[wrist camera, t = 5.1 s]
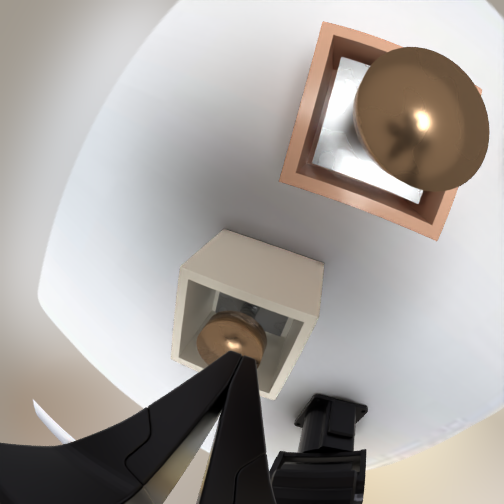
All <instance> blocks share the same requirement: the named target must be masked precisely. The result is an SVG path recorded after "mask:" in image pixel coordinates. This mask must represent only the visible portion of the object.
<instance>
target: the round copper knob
mask: <svg viewBox="0 0 504 504" xmlns="http://www.w3.org/2000/svg"><path fill="white" fill-rule="evenodd" d="M215 312H216V314H214V315H213V316H212V317H211V318H210V319H209V321H208V322H207V323H206V325H205V326H204V328H203V329H202V331H201V332H200V334H199V335H198V337H197V342H196V344H197V350H198V352H199V354H200V356H201V357H202V359H203V360H204V361H205V362H206V363H207V364H208V365H210V364H211V363H213V362H214V361H216V360H217V359H218V358H220V357H221V356H222V355H224V354H225V353H227V352H228V351H234V352H237V353H240V354H242V356H244V355H246V356H249V357H251V358H254V359H255V360H256V365H257V369H258V367H259V365H260V363H261V360H262V357H263V354H264V352H265V349H266V346H267V337H266V334H265V331H266V332H268V333H271V334H274V335H277V336H281V334H282V332H283V329H284V327H285V324H286V322H287V320H288V317H287V316H284V315H282V314H279V313H276V312H273V311H270V310H267V309H265V308H262V307H259V306H256V305H254V304H251V303H248V302H246V301H243V300H240V299H238V298H235V297H232V296H230V295H227V294H224V293H222V292H220V293H219V297H218V302H217V306H216V311H215Z"/></svg>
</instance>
